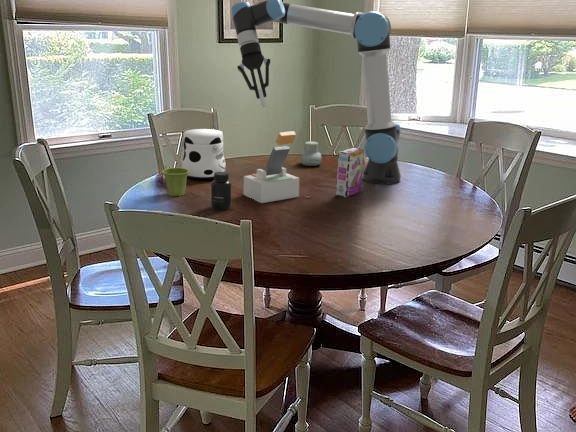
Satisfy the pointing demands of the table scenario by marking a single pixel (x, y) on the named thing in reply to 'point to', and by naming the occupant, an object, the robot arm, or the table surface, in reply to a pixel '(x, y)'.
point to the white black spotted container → (203, 153)
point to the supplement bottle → (221, 191)
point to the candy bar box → (349, 172)
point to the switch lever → (279, 153)
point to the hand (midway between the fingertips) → (263, 106)
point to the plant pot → (176, 180)
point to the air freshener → (311, 154)
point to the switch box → (271, 186)
